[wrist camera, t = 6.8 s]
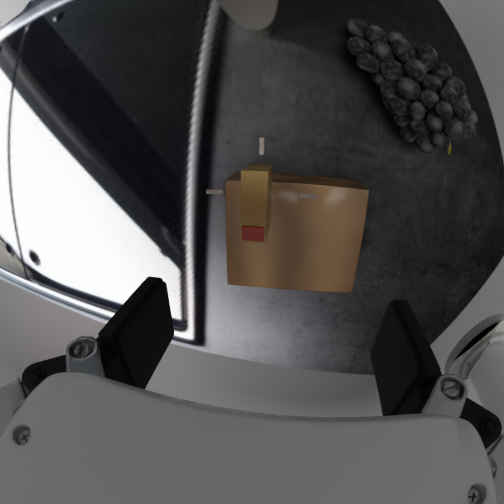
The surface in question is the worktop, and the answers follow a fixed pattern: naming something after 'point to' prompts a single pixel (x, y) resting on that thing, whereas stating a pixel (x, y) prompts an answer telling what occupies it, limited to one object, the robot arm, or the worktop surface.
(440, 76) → the fruit
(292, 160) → the worktop surface
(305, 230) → the brown flat block
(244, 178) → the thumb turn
